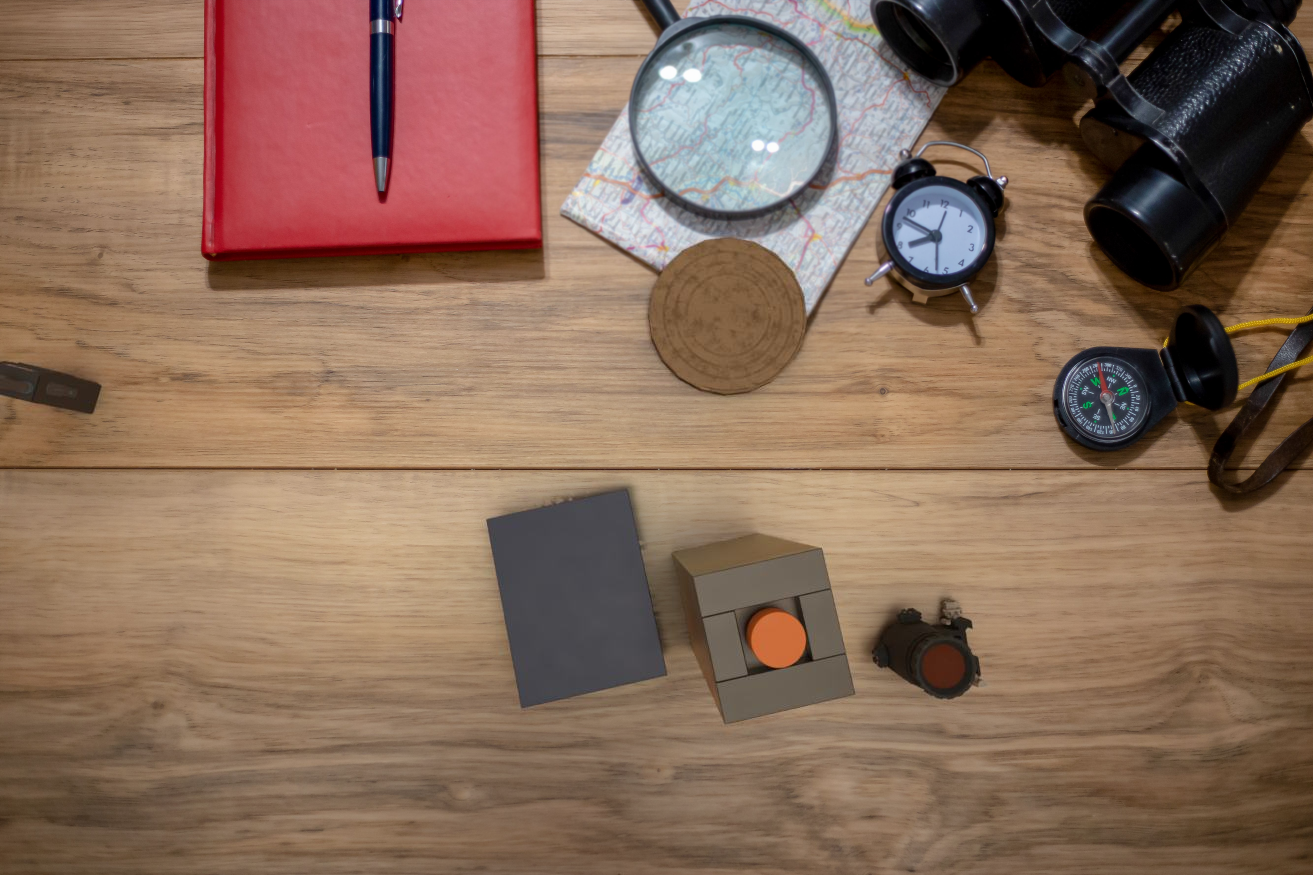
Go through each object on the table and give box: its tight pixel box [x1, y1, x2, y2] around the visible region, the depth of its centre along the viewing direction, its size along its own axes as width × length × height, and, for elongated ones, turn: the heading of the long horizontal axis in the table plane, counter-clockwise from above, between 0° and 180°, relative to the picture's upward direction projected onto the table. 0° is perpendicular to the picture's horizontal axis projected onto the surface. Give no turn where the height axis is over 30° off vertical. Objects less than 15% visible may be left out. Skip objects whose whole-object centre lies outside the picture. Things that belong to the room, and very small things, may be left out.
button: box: [746, 608, 806, 668], centre depth 58 cm, size 4×4×2 cm
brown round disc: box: [647, 236, 808, 397], centre depth 89 cm, size 16×16×3 cm
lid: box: [485, 488, 668, 709], centre depth 78 cm, size 17×13×1 cm
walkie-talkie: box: [0, 360, 102, 415], centre depth 78 cm, size 5×3×20 cm
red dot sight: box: [871, 599, 989, 701], centre depth 82 cm, size 8×14×10 cm
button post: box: [671, 532, 856, 725], centre depth 74 cm, size 10×9×30 cm
